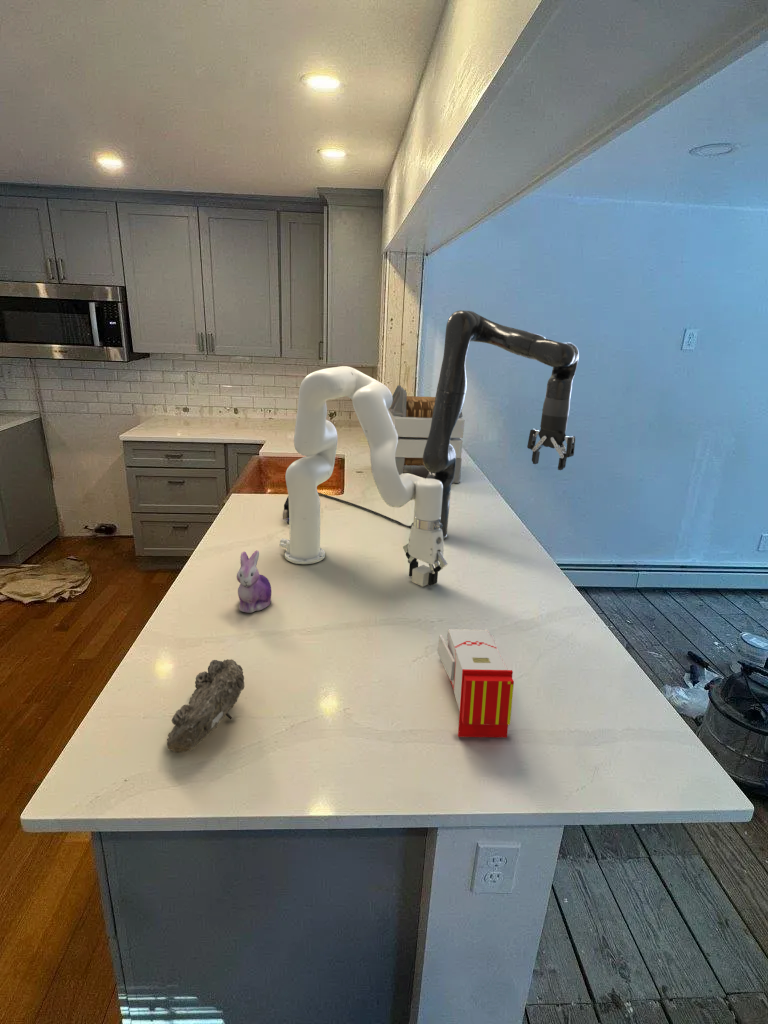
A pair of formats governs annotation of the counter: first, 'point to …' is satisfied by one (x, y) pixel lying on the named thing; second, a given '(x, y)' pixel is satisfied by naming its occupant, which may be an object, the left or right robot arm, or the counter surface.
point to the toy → (478, 682)
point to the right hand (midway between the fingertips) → (547, 466)
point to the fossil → (206, 705)
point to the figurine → (252, 585)
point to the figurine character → (286, 510)
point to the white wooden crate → (418, 430)
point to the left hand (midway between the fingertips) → (422, 579)
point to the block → (421, 575)
